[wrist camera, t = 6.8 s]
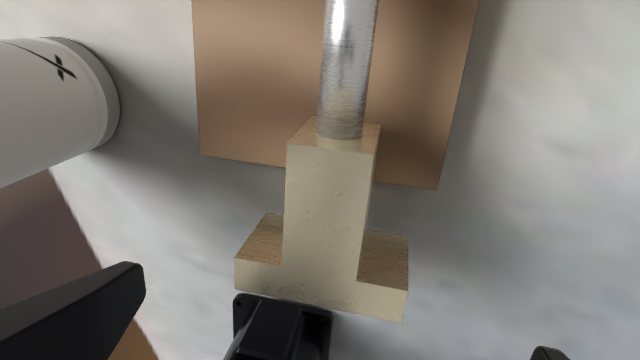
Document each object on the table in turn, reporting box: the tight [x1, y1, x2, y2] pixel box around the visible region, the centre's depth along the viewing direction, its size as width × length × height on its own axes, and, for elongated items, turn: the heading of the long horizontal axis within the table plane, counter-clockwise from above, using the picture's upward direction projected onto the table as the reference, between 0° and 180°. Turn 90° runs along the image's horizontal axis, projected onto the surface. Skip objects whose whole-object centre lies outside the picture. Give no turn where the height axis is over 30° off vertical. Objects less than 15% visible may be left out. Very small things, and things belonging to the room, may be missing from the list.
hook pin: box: [234, 0, 408, 323], centre depth 15 cm, size 14×7×4 cm, turn 176°
